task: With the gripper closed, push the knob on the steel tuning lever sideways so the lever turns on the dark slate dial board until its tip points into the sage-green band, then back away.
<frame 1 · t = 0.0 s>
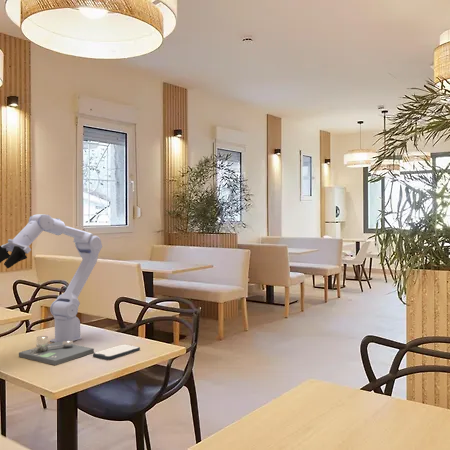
dial board: (56, 354, 174), on the table
phone case: (117, 354, 175), on the table
lever: (52, 342, 175), point 4 cm above the table, hinge at -24.0°
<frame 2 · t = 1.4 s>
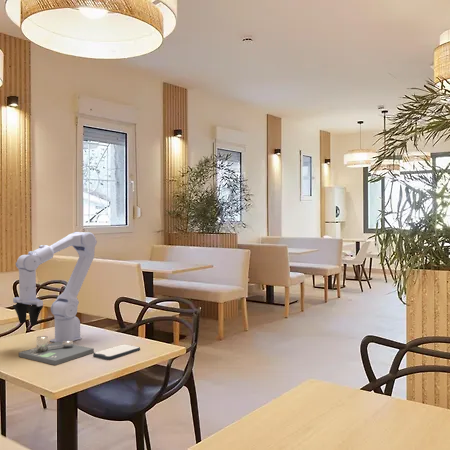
hand: (28, 323, 181), 9 cm above the table, tool pointing down, fingers open, 6 cm apart
nothing on the table moved.
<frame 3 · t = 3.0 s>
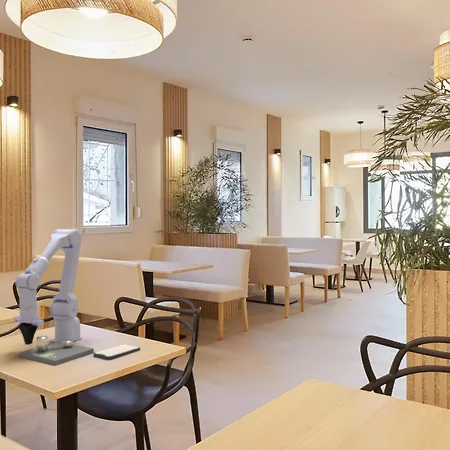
hand: (28, 344, 176), 3 cm above the table, tool pointing down, fingers closed
nothing on the table moved.
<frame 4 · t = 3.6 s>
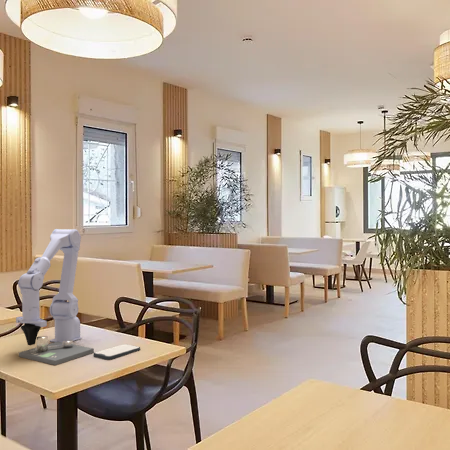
hand: (31, 344, 175), 3 cm above the table, tool pointing down, fingers closed
nothing on the table moved.
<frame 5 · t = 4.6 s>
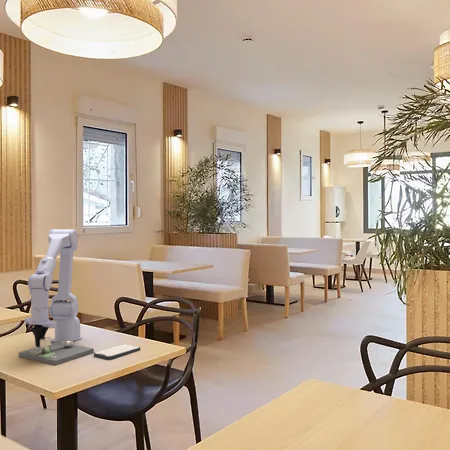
hand: (39, 346, 172), 3 cm above the table, tool pointing down, fingers closed, pressing on lever
lever: (54, 342, 174), point 4 cm above the table, hinge at -7.5°, touching gripper
everything else where it was.
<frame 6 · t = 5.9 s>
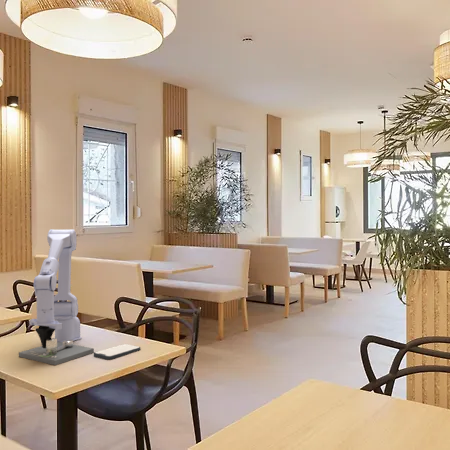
hand: (45, 347, 171), 3 cm above the table, tool pointing down, fingers closed
lever: (58, 343, 173), point 4 cm above the table, hinge at 12.6°, touching gripper
everything else where it was.
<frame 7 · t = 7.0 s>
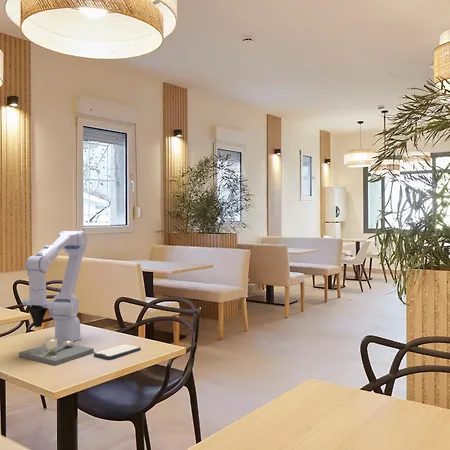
hand: (38, 326, 176), 9 cm above the table, tool pointing down, fingers closed
lever: (58, 343, 173), point 4 cm above the table, hinge at 12.6°
everything else where it was.
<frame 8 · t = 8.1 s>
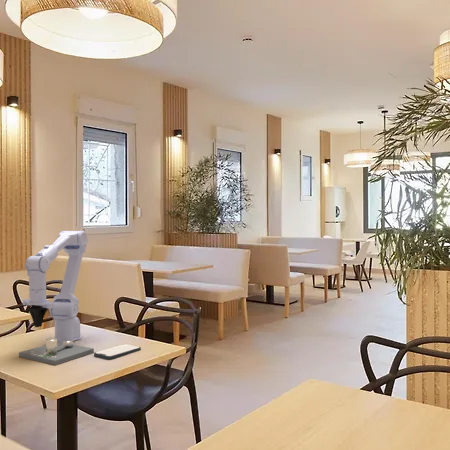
hand: (38, 326, 176), 9 cm above the table, tool pointing down, fingers closed
nothing on the table moved.
at the end: lever at +13° (first picture: -24°); phone case moved 0.8 cm from its start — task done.
